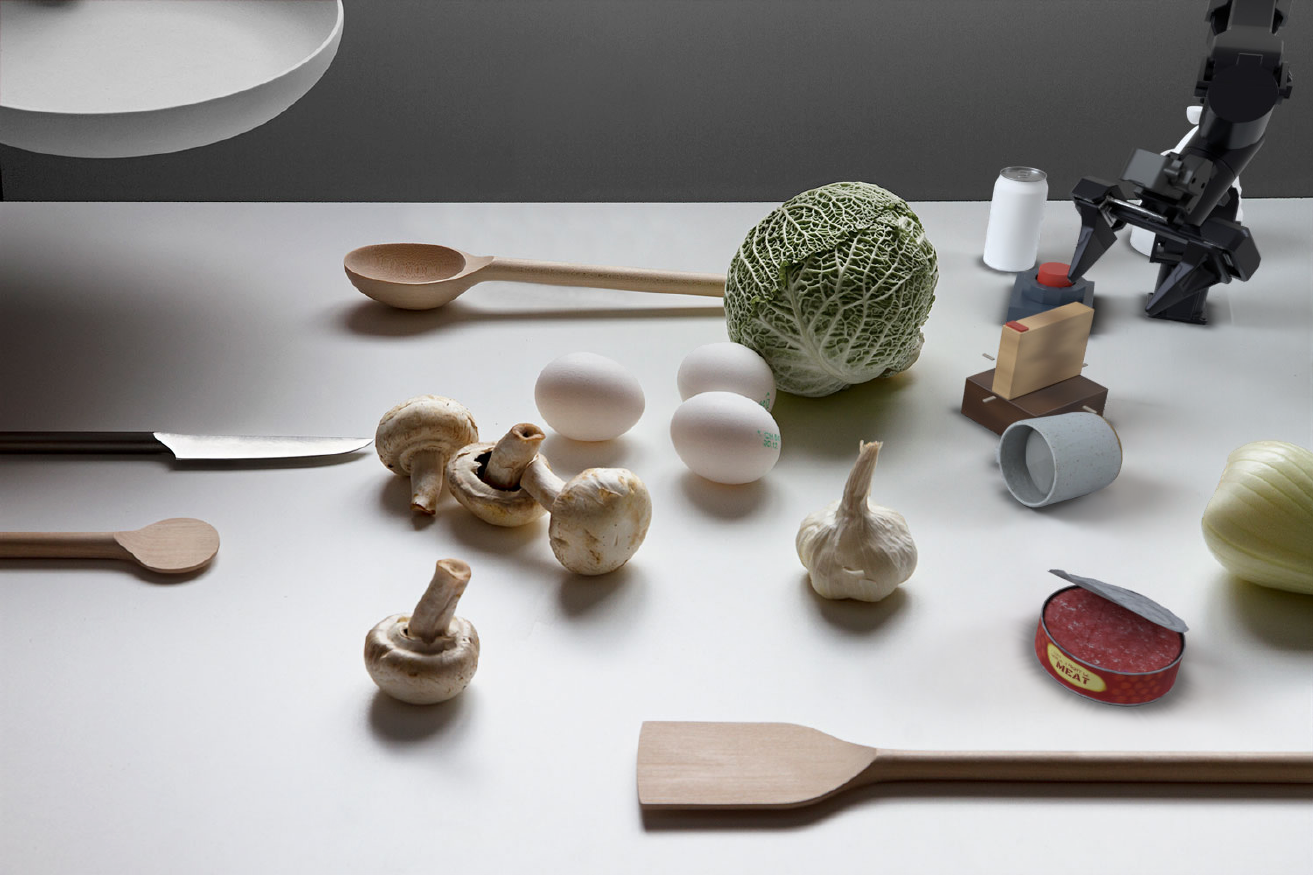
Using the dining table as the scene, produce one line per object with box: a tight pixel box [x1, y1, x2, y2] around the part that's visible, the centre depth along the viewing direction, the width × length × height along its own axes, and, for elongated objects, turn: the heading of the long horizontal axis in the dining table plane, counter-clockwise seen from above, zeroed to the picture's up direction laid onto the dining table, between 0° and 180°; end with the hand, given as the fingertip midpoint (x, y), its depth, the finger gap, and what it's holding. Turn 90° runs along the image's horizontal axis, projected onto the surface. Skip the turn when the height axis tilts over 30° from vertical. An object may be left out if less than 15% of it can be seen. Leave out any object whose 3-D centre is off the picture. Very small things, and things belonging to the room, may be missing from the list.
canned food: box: [1033, 568, 1190, 707], centre depth 81 cm, size 11×10×10 cm
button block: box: [1005, 268, 1096, 324], centre depth 133 cm, size 11×9×4 cm
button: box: [1037, 261, 1073, 288], centre depth 132 cm, size 4×4×2 cm
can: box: [983, 166, 1049, 274], centre depth 143 cm, size 6×6×12 cm
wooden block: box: [960, 352, 1109, 437], centre depth 111 cm, size 14×14×4 cm
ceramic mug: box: [994, 412, 1124, 508], centre depth 100 cm, size 11×8×8 cm
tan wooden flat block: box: [992, 302, 1095, 400], centre depth 108 cm, size 10×2×7 cm, turn 121°
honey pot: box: [1129, 105, 1244, 257], centre depth 146 cm, size 13×13×18 cm
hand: (1107, 296), depth 110 cm, fingers open, 9 cm apart
